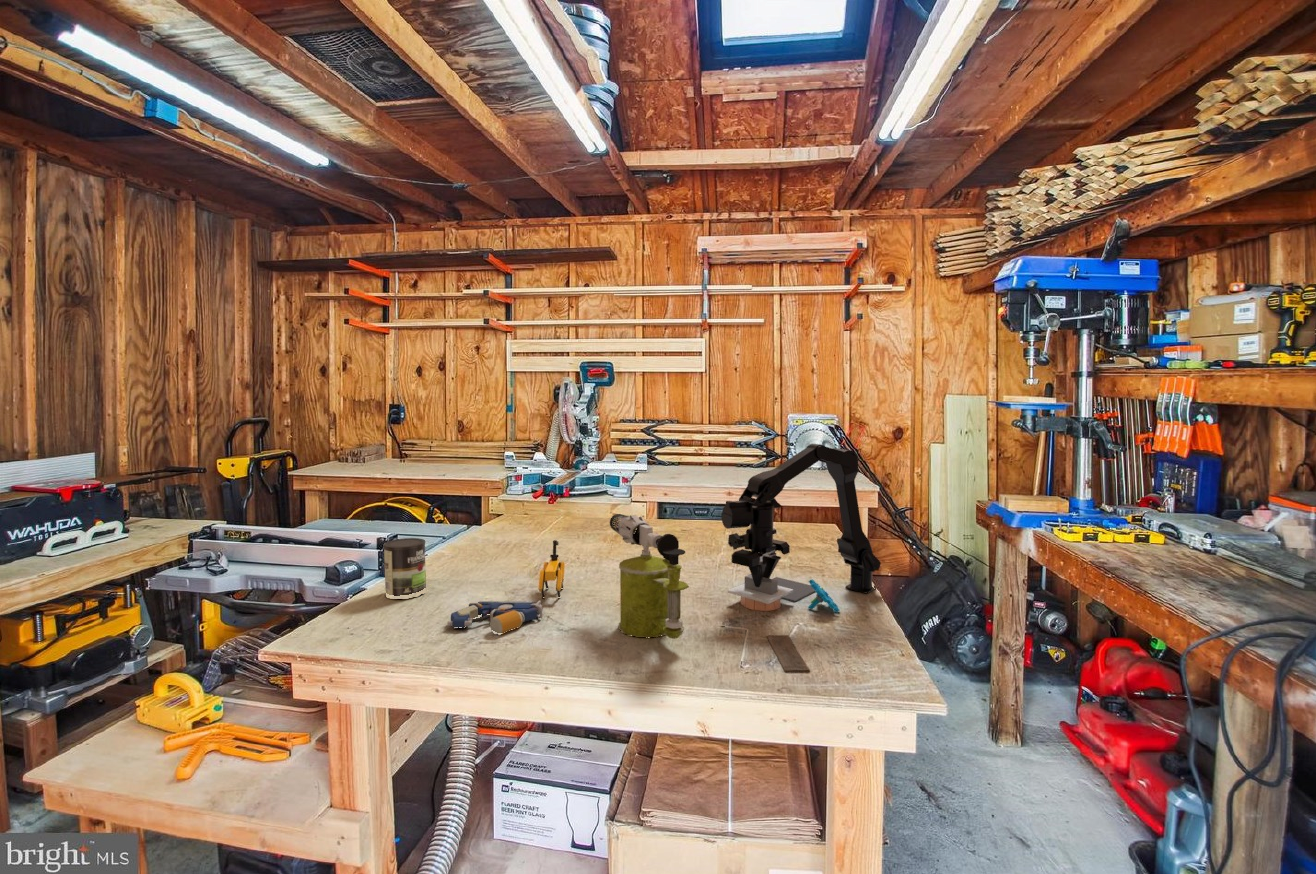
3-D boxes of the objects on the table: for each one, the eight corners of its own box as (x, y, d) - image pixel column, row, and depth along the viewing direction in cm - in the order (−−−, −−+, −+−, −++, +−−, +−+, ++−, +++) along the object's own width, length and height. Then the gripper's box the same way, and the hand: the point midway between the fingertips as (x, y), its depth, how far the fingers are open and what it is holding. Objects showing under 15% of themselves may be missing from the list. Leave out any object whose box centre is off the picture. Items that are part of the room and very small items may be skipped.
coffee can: (434, 589, 160) (433, 539, 159) (407, 602, 150) (406, 548, 149) (404, 585, 163) (403, 536, 162) (376, 597, 153) (374, 545, 152)
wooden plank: (766, 633, 129) (788, 632, 129) (766, 639, 129) (788, 638, 129) (785, 670, 112) (810, 668, 112) (785, 677, 112) (811, 675, 112)
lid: (754, 581, 158) (754, 568, 158) (793, 591, 150) (793, 578, 149) (728, 592, 149) (728, 578, 149) (768, 604, 141) (768, 589, 141)
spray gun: (530, 638, 128) (548, 613, 143) (530, 619, 128) (547, 597, 143) (439, 638, 130) (465, 614, 145) (438, 619, 130) (465, 597, 145)
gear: (843, 613, 139) (812, 580, 141) (824, 629, 139) (794, 596, 142) (840, 603, 149) (812, 573, 152) (823, 618, 150) (795, 588, 152)
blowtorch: (653, 661, 117) (653, 539, 115) (594, 608, 146) (593, 510, 144) (708, 648, 123) (709, 532, 121) (640, 600, 152) (640, 505, 150)
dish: (755, 594, 157) (755, 583, 156) (787, 603, 150) (788, 591, 150) (733, 603, 149) (733, 592, 149) (766, 613, 142) (766, 601, 142)
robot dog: (567, 581, 167) (567, 535, 166) (560, 603, 149) (560, 552, 148) (547, 581, 167) (546, 536, 166) (538, 604, 149) (537, 553, 148)
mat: (776, 578, 170) (776, 577, 170) (820, 589, 161) (820, 587, 161) (749, 589, 160) (749, 588, 160) (795, 602, 151) (795, 600, 151)
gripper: (755, 515, 160) (754, 570, 161) (714, 526, 147) (713, 587, 148) (791, 521, 153) (790, 579, 154) (751, 533, 139) (750, 597, 140)
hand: (760, 585), depth 149 cm, fingers closed on lid, 3 cm apart
